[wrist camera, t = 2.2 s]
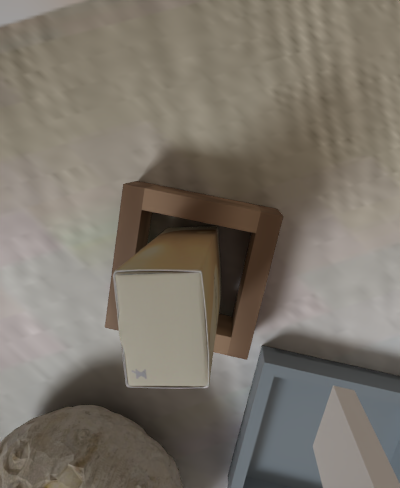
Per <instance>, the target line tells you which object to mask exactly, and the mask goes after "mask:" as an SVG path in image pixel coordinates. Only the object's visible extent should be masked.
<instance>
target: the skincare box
mask: <svg viewBox="0 0 400 488" xmlns="http://www.w3.org/2000/svg"><path fill="white" fill-rule="evenodd" d="M113 281H114V290H115V299H116V308H117V317H118V327H119V336H120V341H121V348H122V358H123V365H124V373H125V383H126V386H127V387H129V388H169V389H192V388H208V387H209V383H210V373H211V366H212V358H213V350H214V343H215V336H216V329H217V322H218V315H219V308H220V302H221V260H220V248H219V235H218V227H173V228H167V229H166V230H164V231H163V232H162V233H161V234H160V235H158V236H157V237H156V238H155V239H153V240H152V241H151V242H150V243H148V244H147V245H146V246H145V247H144V248H142V249H141V250H140V251H139V252H137V253H136V254H135V255H134V256H133V257H131V258H130V259H129V260H128V261H126V262H125V263H124V264H123V265H121V266H120V267H119V268H118V269H116V270H115V271H114V273H113Z"/></svg>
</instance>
